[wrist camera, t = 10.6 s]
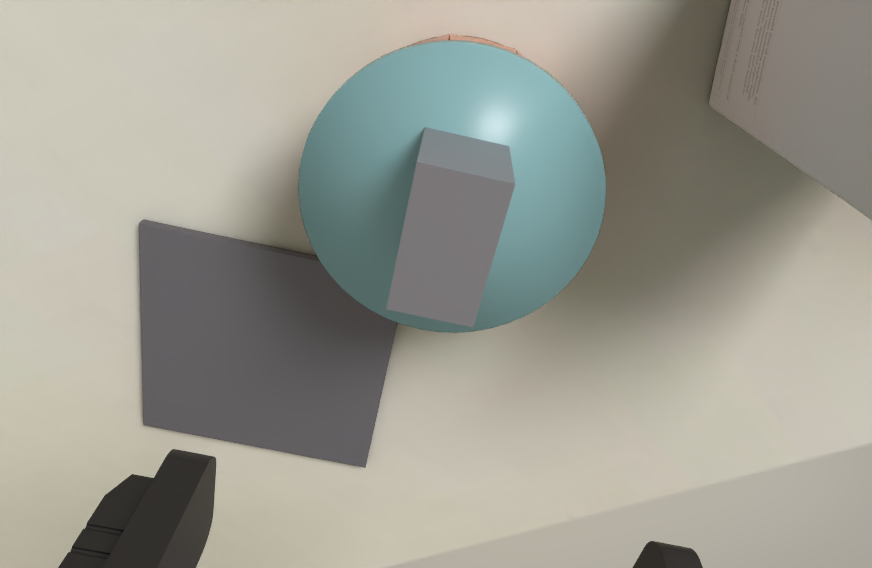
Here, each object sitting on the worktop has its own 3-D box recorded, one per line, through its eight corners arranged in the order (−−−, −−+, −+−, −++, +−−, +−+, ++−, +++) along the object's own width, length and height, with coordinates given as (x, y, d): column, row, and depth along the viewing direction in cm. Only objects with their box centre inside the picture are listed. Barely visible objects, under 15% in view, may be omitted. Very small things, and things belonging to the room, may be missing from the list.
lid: (289, 291, 28) (257, 355, 24) (322, 4, 22) (287, 22, 18) (549, 346, 29) (563, 417, 25) (649, 82, 23) (688, 116, 19)
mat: (147, 419, 40) (143, 424, 39) (143, 219, 33) (138, 223, 32) (366, 461, 40) (365, 467, 40) (407, 275, 34) (406, 280, 33)
